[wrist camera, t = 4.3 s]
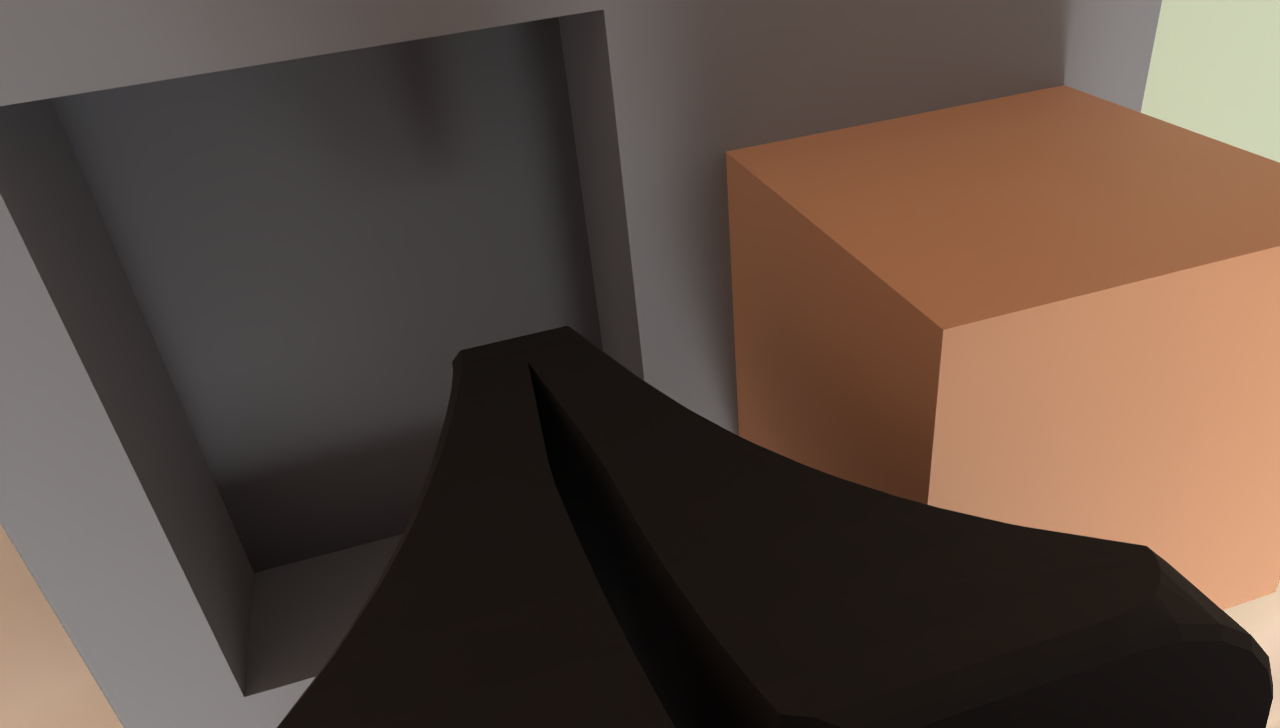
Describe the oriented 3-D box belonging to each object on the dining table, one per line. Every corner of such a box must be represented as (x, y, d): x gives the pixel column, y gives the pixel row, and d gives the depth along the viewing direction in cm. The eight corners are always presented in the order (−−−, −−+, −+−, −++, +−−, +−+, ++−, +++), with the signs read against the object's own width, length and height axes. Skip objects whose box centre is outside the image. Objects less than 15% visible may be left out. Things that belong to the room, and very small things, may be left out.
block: (1020, 386, 14) (1274, 591, 10) (740, 460, 13) (908, 716, 9) (1063, 85, 12) (1417, 212, 8) (726, 151, 11) (943, 329, 7)
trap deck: (1578, 310, 23) (1733, 370, 20) (220, 701, 16) (203, 860, 14) (1954, -443, 15) (2274, -494, 13) (-262, -250, 9) (-482, -275, 6)
